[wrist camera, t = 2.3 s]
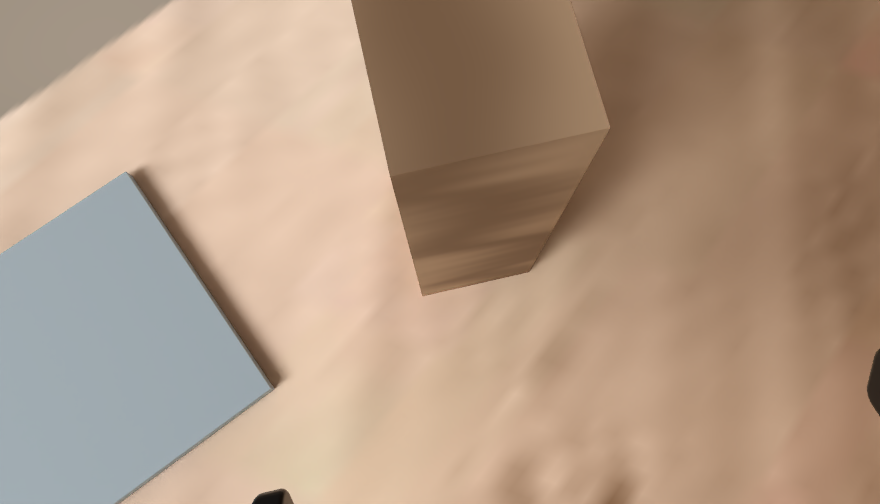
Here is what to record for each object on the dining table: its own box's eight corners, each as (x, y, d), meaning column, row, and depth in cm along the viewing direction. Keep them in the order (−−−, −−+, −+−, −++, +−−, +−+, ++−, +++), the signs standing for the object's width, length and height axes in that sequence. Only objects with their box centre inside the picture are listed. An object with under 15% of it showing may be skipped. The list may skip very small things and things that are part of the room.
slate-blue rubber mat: (274, 388, 23) (270, 388, 22) (24, 572, 21) (14, 576, 21) (132, 176, 25) (125, 171, 24) (-105, 332, 23) (-117, 330, 23)
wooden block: (496, 148, 25) (538, -103, 13) (528, 271, 24) (610, 127, 11) (394, 170, 25) (337, -62, 12) (422, 296, 23) (389, 176, 11)
